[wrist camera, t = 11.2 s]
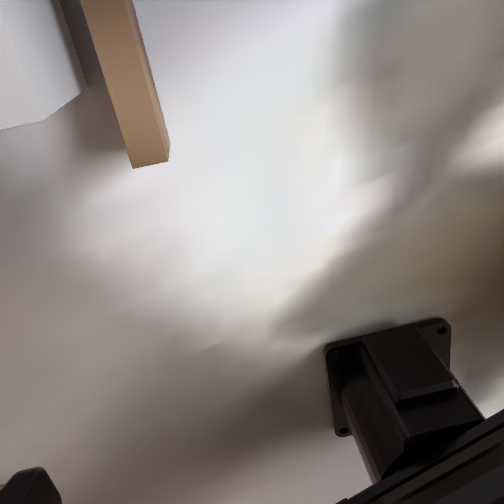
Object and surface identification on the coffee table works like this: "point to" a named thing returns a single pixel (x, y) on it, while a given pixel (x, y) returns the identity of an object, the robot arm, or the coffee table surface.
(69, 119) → the coffee table surface
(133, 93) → the lane rack
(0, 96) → the light grey block
